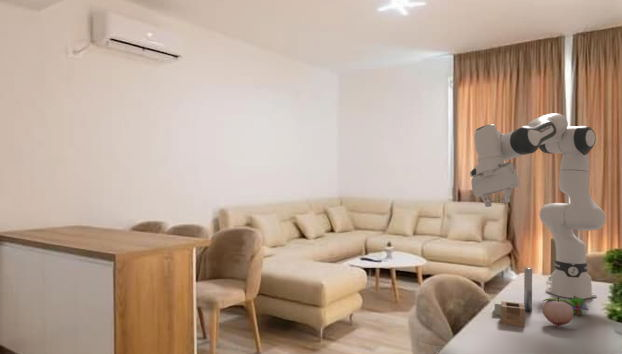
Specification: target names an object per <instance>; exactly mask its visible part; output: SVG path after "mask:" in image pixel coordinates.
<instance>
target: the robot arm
mask: <svg viewBox="0 0 622 354" xmlns="http://www.w3.org/2000/svg"><path fill="white" fill-rule="evenodd" d="M568 125H569V124H568V120H567V118H566V117H565V116H564V115H563V114H561V113H548V114H544V115H541V116H538V117H536V118H534V119H533V120H530V122H529V123H528V124H527V125H525V126H524V125H523V126H521V127H519V128H516V129H515V130H512V131H510V132H507V133H503V132H501V131H499V130H498V127H497V126H496V124H493V123H492V124H491V123H489V124H486V125H483V126H480V127H478V128H477V129H475V130H474V134H473V135H474V137H473V138H474V148H475V151H476V153H477V160H476V161H477V164H476V165H475V167H474V168H473V169H472V170H471V171H470V172H469V175H470V176H469V177H471V181H470V182H471V191H472V195H473V196H474V197H475V198H476V197H477V198H479V197H480V198H481V200H482V201H483V202H484V206H485V208H489V207H492V201H490V200H489V195H491V194H496V193H501V192H503V193H504V197H502V201H503V203H505V204H506V203H507V204H508V203H510V202H511V198H510V197H511V195H512V189H514V188H518V187H519V183H520V181H519V177H518V174H517V170H516V169H515V165H514V163H513V162H510V161H509V160H512V159H515V158H519V157H522V156H525V155H530V154H534V153H535V152H536V151H538V149H539V150H540V151H541V152H542V153H545V154H550V155H551V154H559V155H560V154H562V157H561V161H560V166H559V177H558V178H559V179H558V188H559V190H560V192H562V193H563V194H565V195H567V196H568V197H569V200H570V203H566V202H564V203H563V202H552V203H545V204H544V205H543V206H542V207H541V209H539V210H540V211H539V220H540V221H541V222H542V224H543V225H545V226H546V228H548V230H549V232H550V233H551V235H552V238H554V240H555V244H556V260H555V264H554V265H555V270H554V272H553V273H552V274H551V275H550V274H549V275H548V281H549V283H548V284H547V286H546V288H545V292H546V293H548V294H552V295H555V296H557V297H558V296H559V297H563V298H568V299H569V298H570V299H571V297H572V298H573V297H574V296H576V297H578V298H581V299H584V300H586V299H590V298H597V294H596V293H594V292H593V288H592V286H593V285H592V284H593V283H592V276H591V275H589V274H588V263H587V246H586V243H585V242H584V241H583V240H581V239H580V238H578V237H577V235H575V233H574V231H575V230H576V231H586V232H587V231H598V230H600V229H602V228H603V227H604V226H605V224H606V220H607V217H606V213H605V211H604V210H603V209H602V207H600V206H599V205H598V204H597V203H596V202H595V201H594V199H593V197H592V195H591V191H590V171H591V169H590V166H591V165H590V163H591V161H590V156H589V153H590V151H591V150H593V147H594V145H595V144H596V141H597V140H596V133H595V131H594V130H593V128H591V127H590V126H588V125H587V126H586V125H579V126H568ZM505 161H506V162H505Z"/></svg>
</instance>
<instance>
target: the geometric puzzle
mask: <svg viewBox="0 0 622 354" xmlns="http://www.w3.org/2000/svg"><path fill="white" fill-rule="evenodd" d="M568 300H569V301H570V302H571V303H573V304H574V306H573V305H572V304H570V305H571V306H572V308H573V312H574V314H573V315H575V317H576V316H577V317H578V318H579V317H580V316H582V314H583V311H585V313H586V312H588V311H589V308H588V306H587V304H586V299H581V298H578V297H576V296H574V297H573V298H572V297H571V298H568Z"/></svg>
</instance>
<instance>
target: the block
mask: <svg viewBox="0 0 622 354" xmlns="http://www.w3.org/2000/svg"><path fill="white" fill-rule="evenodd" d="M501 301H505V302H515V303H516V301H515V300H507V299H499V298H494V315H495V316H500V317H501Z"/></svg>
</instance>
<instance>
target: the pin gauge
mask: <svg viewBox="0 0 622 354" xmlns="http://www.w3.org/2000/svg"><path fill="white" fill-rule="evenodd" d="M523 269H524V273H523V274H524V275H523V277H524V279H523V280H524V281H523V283H524V285H523V291H524V293H523V304H524V308H525V313H529V314H530V313H532V312H533V268H531V267H524V268H523Z"/></svg>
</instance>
